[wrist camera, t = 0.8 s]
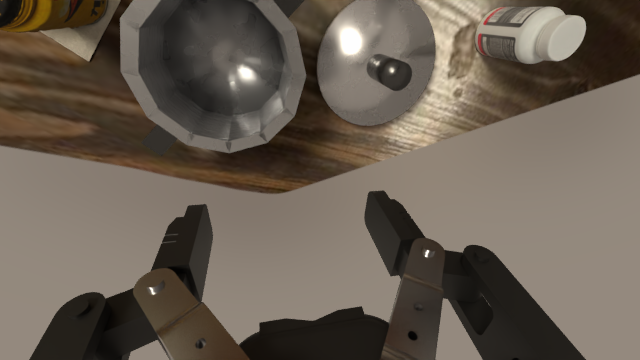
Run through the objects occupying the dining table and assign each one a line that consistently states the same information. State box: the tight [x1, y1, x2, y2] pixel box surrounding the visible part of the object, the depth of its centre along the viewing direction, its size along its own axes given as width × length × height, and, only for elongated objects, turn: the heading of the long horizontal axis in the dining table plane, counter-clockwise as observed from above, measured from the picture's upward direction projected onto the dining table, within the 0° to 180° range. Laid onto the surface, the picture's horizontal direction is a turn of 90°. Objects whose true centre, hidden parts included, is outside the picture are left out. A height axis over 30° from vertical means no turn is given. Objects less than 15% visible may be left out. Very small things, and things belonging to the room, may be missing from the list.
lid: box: [316, 0, 435, 126], centre depth 30 cm, size 14×14×8 cm
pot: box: [120, 0, 306, 156], centre depth 27 cm, size 20×14×8 cm
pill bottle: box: [475, 6, 586, 64], centre depth 30 cm, size 5×5×10 cm
